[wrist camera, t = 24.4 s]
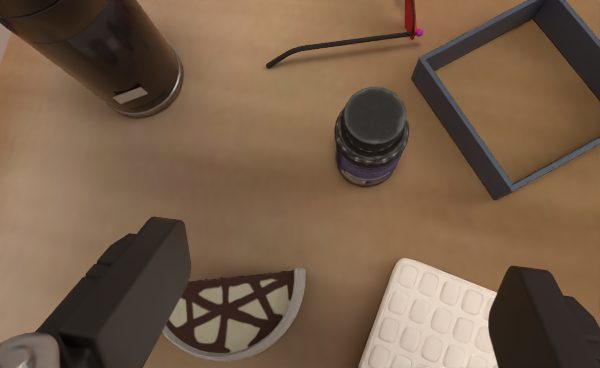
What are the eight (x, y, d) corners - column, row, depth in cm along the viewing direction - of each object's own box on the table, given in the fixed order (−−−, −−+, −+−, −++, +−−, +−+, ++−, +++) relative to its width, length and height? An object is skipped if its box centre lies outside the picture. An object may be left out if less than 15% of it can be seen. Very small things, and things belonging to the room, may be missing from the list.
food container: (190, 349, 37) (138, 374, 28) (188, 282, 39) (138, 284, 29) (319, 337, 37) (312, 359, 27) (312, 269, 38) (303, 267, 28)
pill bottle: (407, 169, 39) (433, 129, 29) (354, 198, 39) (360, 169, 29) (375, 119, 41) (388, 64, 30) (324, 147, 41) (319, 101, 30)
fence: (411, 78, 42) (418, 58, 38) (533, 12, 42) (553, -15, 38) (494, 200, 38) (512, 191, 34) (627, 127, 38) (660, 110, 34)
